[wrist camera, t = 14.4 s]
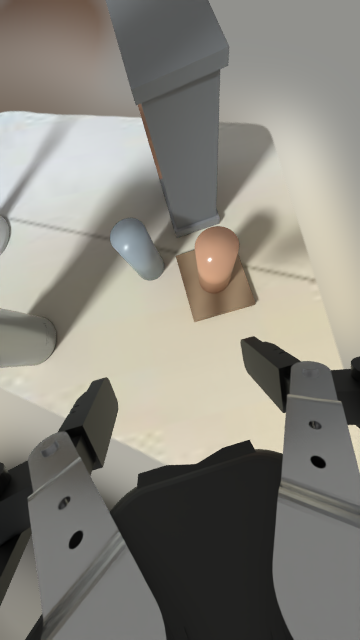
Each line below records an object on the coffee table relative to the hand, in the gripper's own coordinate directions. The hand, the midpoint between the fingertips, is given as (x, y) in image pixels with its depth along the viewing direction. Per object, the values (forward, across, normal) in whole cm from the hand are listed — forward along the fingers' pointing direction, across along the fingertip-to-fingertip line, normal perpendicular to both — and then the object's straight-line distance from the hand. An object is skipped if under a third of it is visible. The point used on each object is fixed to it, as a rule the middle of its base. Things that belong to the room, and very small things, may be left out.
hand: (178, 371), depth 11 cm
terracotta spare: (+22, -9, -2) cm, 24 cm away
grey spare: (+27, 0, -6) cm, 28 cm away
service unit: (+30, -10, -17) cm, 36 cm away
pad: (+23, -9, -2) cm, 24 cm away
